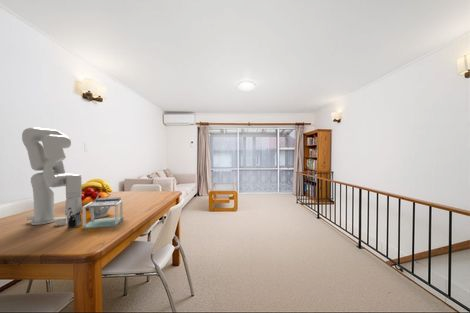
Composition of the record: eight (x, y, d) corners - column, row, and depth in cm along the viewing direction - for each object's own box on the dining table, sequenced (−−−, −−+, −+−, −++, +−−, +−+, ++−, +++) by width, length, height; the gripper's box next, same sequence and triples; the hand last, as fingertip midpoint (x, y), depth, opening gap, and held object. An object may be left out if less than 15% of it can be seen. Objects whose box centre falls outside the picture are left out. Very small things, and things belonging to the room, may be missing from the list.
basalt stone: (67, 227, 120) (67, 217, 120) (71, 224, 125) (71, 214, 125) (77, 226, 122) (77, 216, 122) (81, 223, 127) (81, 214, 126)
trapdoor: (86, 211, 120) (86, 204, 120) (97, 204, 136) (97, 198, 136) (114, 209, 124) (114, 202, 124) (122, 202, 140) (122, 197, 140)
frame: (81, 228, 118) (81, 207, 118) (92, 220, 132) (92, 201, 132) (116, 225, 123) (116, 205, 122) (123, 218, 137) (123, 199, 137)
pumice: (55, 226, 123) (55, 219, 123) (57, 224, 126) (56, 217, 126) (66, 224, 126) (65, 218, 125) (67, 222, 129) (67, 216, 129)
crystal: (113, 214, 145) (113, 193, 145) (91, 219, 135) (91, 196, 134) (108, 212, 151) (108, 192, 151) (87, 216, 141) (86, 195, 141)
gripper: (73, 192, 130) (74, 220, 131) (58, 198, 114) (59, 230, 114) (87, 191, 132) (87, 219, 133) (74, 197, 116) (74, 229, 116)
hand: (74, 224), depth 123 cm, fingers closed on basalt stone, 5 cm apart
